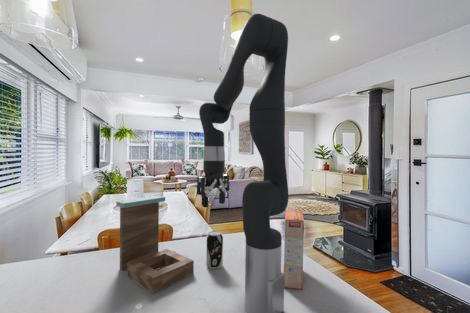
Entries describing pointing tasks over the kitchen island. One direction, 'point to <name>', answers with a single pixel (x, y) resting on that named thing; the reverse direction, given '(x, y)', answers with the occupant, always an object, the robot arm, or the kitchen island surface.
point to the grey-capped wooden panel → (138, 228)
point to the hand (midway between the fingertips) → (213, 205)
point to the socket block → (158, 280)
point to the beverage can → (214, 250)
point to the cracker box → (293, 249)
